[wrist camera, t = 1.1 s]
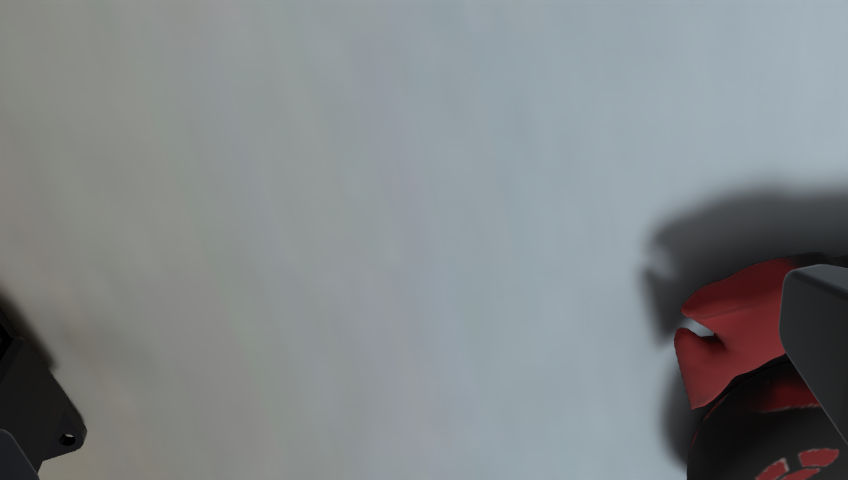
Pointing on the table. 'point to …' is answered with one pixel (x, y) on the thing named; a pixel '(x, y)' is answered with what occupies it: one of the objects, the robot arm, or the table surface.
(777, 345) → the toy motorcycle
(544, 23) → the table surface
